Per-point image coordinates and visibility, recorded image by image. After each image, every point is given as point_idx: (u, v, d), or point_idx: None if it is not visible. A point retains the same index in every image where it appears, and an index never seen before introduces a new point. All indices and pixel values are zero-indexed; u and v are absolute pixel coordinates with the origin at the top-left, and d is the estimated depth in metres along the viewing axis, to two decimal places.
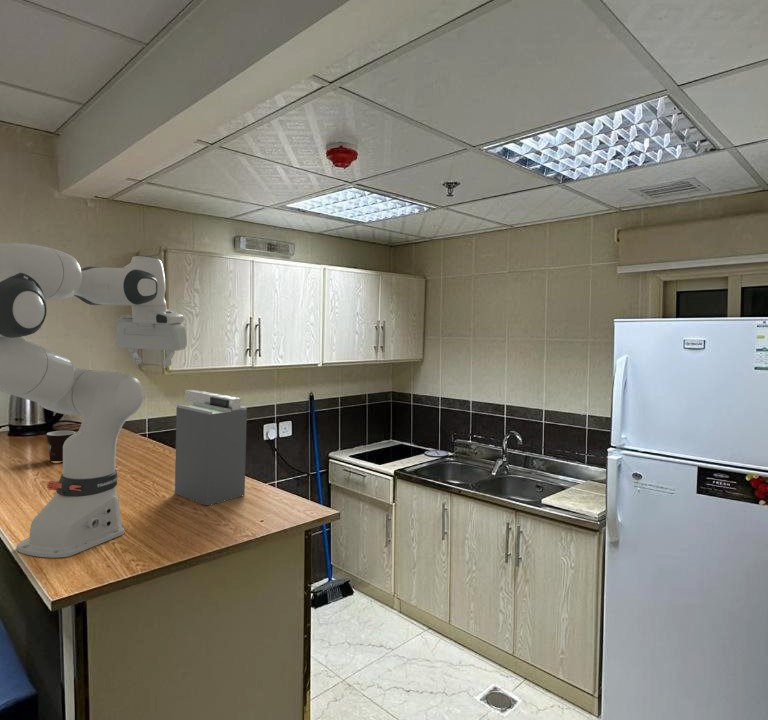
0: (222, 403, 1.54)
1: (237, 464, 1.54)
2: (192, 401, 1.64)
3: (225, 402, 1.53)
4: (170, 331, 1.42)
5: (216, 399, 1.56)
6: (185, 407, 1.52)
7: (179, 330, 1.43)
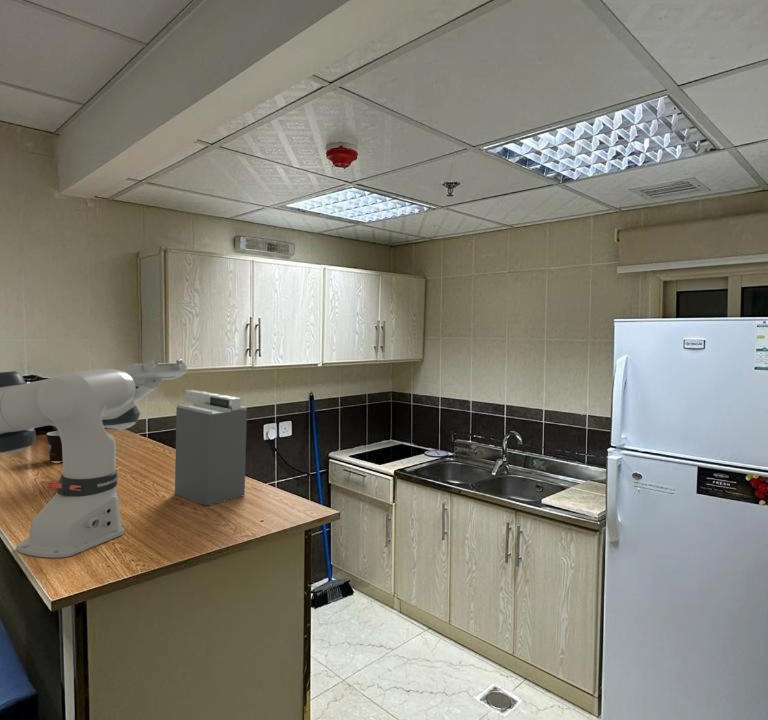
0: (222, 403, 1.54)
1: (237, 464, 1.54)
2: (192, 401, 1.64)
3: (225, 402, 1.53)
4: (133, 380, 1.71)
5: (216, 399, 1.56)
6: (185, 407, 1.52)
7: None
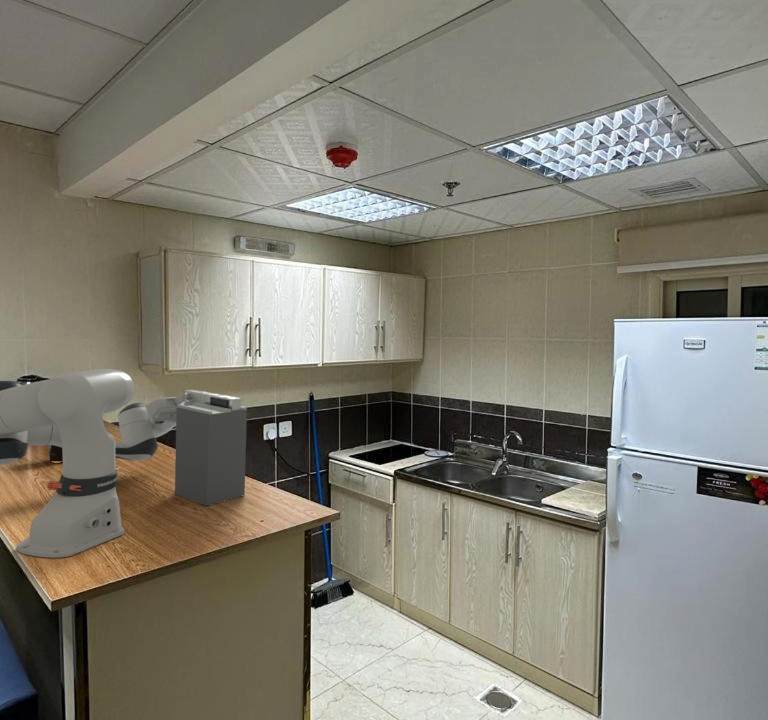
0: (222, 403, 1.54)
1: (237, 464, 1.54)
2: (192, 401, 1.64)
3: (225, 402, 1.53)
4: (158, 415, 1.65)
5: (216, 399, 1.56)
6: (185, 407, 1.52)
7: (151, 412, 1.64)
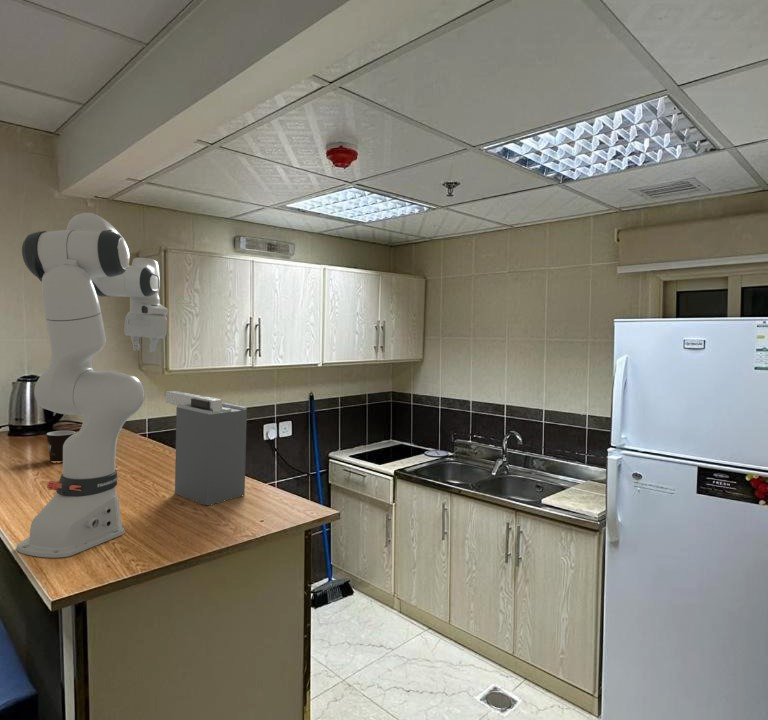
0: (202, 405, 1.49)
1: (237, 464, 1.54)
2: (173, 402, 1.59)
3: (206, 404, 1.48)
4: (151, 320, 1.64)
5: (197, 400, 1.51)
6: (185, 407, 1.52)
7: (158, 320, 1.64)
